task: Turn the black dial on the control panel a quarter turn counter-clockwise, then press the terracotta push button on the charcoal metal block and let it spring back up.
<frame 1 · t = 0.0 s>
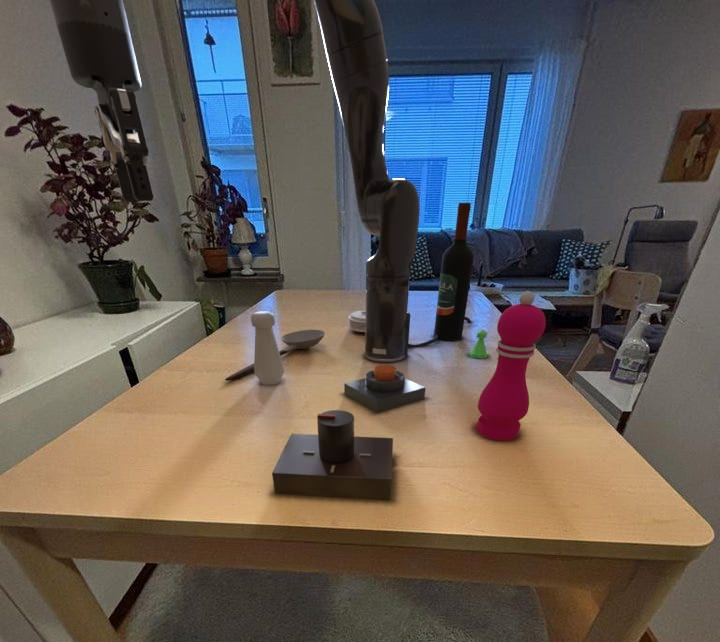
hand: (138, 201, 55), 29 cm above the table, tool pointing down, fingers open, 8 cm apart
dial panel: (337, 474, 51), on the table
spoon: (276, 360, 90), on the table
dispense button: (385, 372, 70), point 4 cm above the table, slide at 0.1 cm
salt shaker: (270, 382, 79), on the table
lid: (370, 331, 113), on the table
pepper mill: (496, 432, 62), on the table
dial: (336, 435, 48), point 6 cm above the table, hinge at 0.0°
button block: (384, 396, 73), on the table
game piece: (478, 356, 94), on the table
wine bottle: (447, 338, 107), on the table
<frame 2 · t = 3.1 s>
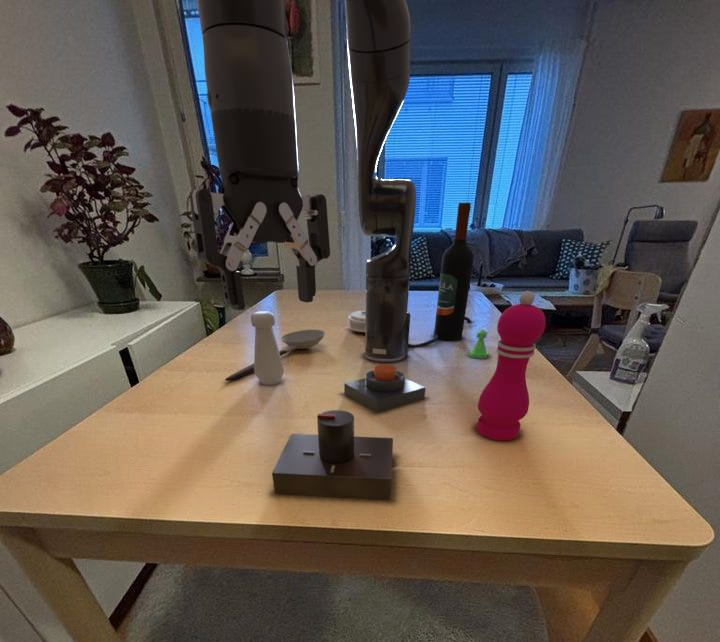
hand: (273, 305, 45), 19 cm above the table, tool pointing down, fingers open, 8 cm apart
nothing on the table moved.
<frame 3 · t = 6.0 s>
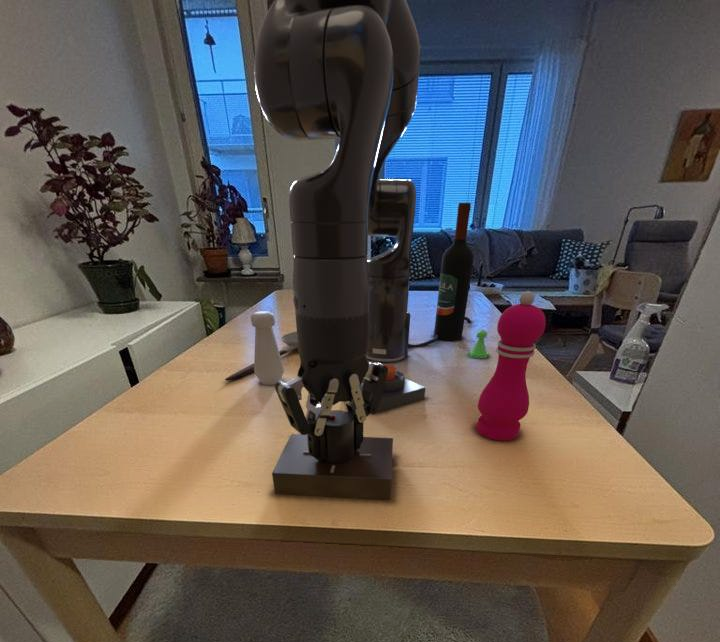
hand: (337, 451, 49), 3 cm above the table, tool pointing down, fingers closed on dial, 4 cm apart
dial: (336, 435, 48), point 6 cm above the table, hinge at -0.1°, touching gripper
everything else where it was.
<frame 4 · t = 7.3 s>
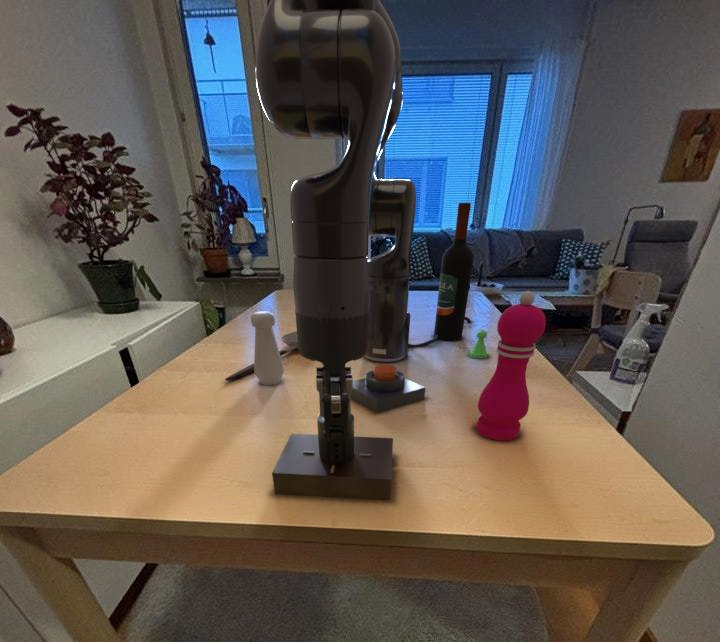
hand: (335, 451, 49), 3 cm above the table, tool pointing down, fingers closed on dial, 4 cm apart
dial: (336, 435, 48), point 6 cm above the table, hinge at 62.3°, touching gripper
everything else where it was.
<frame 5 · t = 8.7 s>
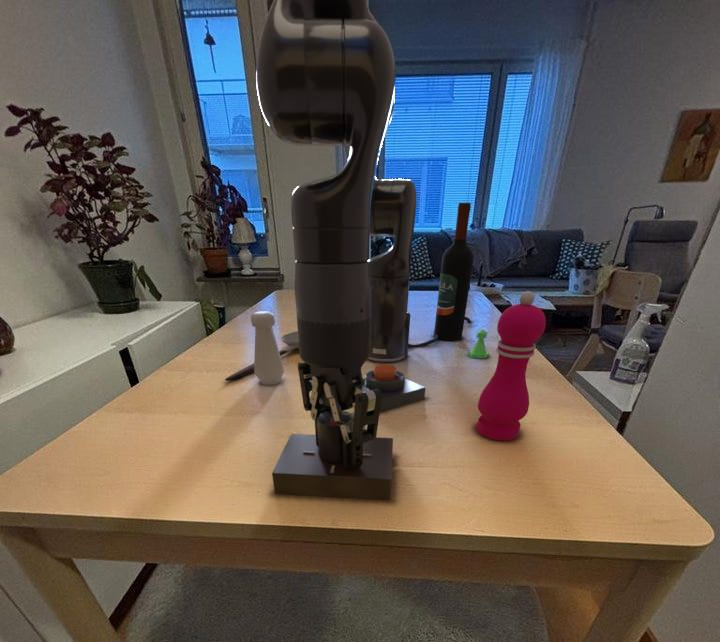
hand: (338, 455, 49), 3 cm above the table, tool pointing down, fingers open, 6 cm apart
dial: (336, 435, 48), point 6 cm above the table, hinge at 94.1°
everything else where it was.
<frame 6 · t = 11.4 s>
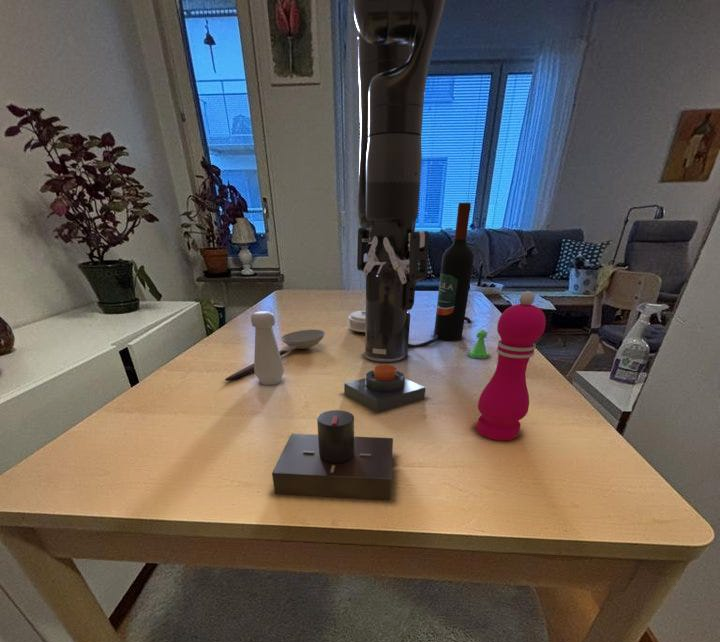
hand: (388, 305, 64), 16 cm above the table, tool pointing down, fingers open, 8 cm apart
nothing on the table moved.
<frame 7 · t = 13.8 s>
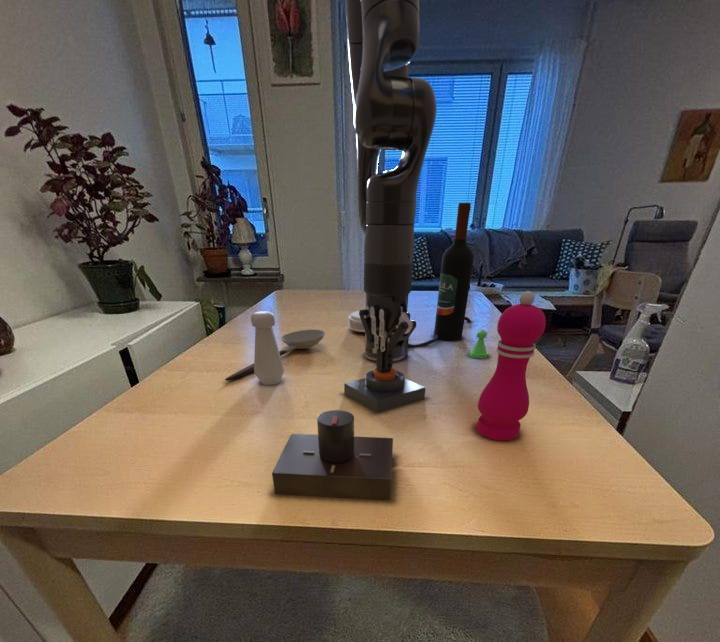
hand: (383, 370, 70), 5 cm above the table, tool pointing down, fingers closed
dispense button: (384, 375, 70), point 4 cm above the table, slide at -0.4 cm, touching gripper
everything else where it was.
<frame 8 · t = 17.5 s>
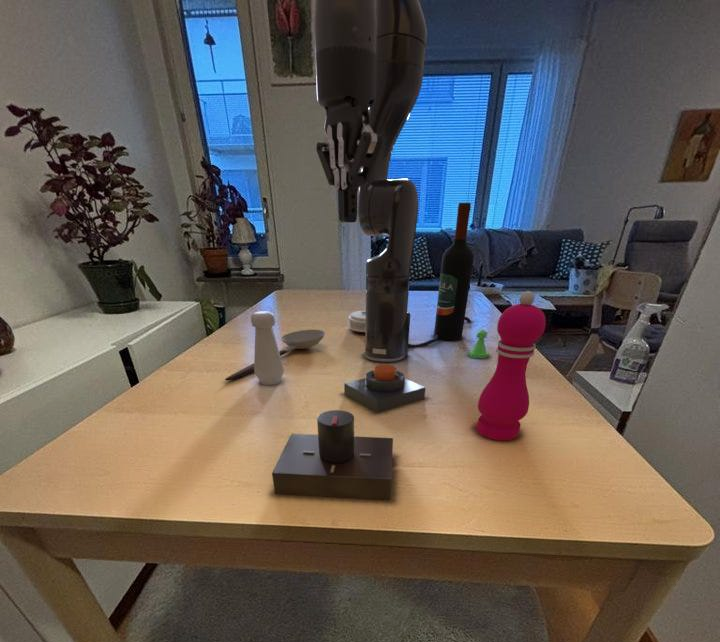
hand: (347, 222, 58), 27 cm above the table, tool pointing down, fingers closed
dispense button: (385, 372, 70), point 4 cm above the table, slide at 0.1 cm
everything else where it was.
at the end: dial at +94° (first picture: +0°); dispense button pushed in 1.2 cm at the most during the clip, back to where it started at the end; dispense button slide at 0.1 cm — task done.
